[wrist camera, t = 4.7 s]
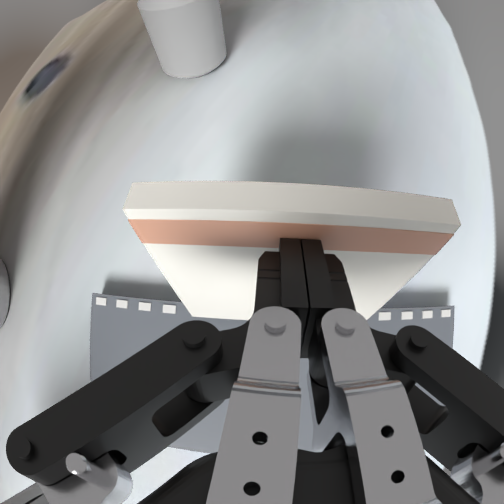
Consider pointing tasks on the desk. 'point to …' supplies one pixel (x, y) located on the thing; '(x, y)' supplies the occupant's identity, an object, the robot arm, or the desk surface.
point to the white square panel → (283, 236)
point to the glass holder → (28, 496)
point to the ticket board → (175, 313)
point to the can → (185, 35)
